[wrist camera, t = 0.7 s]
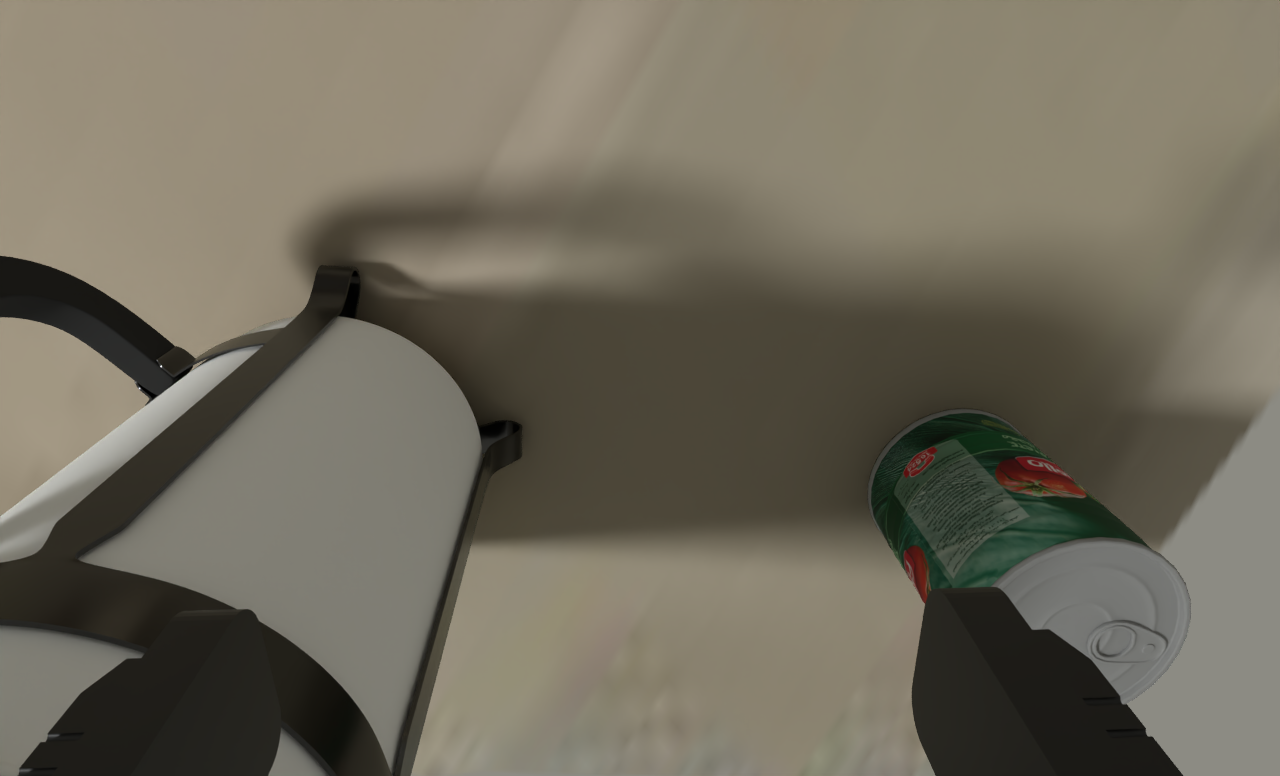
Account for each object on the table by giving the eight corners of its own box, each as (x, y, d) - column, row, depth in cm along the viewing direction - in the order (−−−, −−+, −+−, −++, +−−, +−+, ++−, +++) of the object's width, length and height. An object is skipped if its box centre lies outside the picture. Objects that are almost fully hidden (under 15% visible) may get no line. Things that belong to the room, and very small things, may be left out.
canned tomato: (843, 537, 39) (930, 706, 29) (903, 391, 36) (1023, 521, 26) (991, 567, 40) (1126, 740, 30) (1060, 428, 37) (1235, 566, 27)
